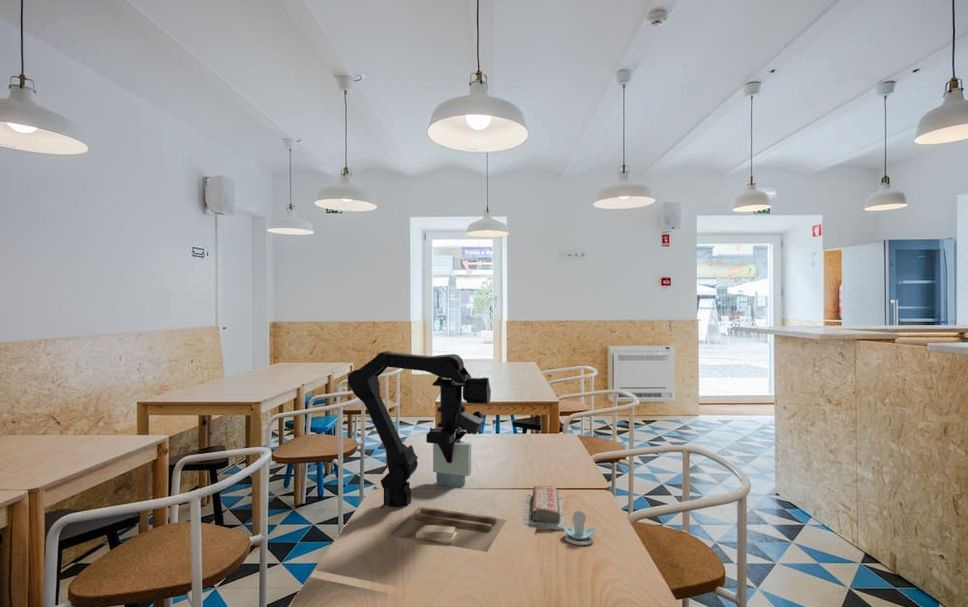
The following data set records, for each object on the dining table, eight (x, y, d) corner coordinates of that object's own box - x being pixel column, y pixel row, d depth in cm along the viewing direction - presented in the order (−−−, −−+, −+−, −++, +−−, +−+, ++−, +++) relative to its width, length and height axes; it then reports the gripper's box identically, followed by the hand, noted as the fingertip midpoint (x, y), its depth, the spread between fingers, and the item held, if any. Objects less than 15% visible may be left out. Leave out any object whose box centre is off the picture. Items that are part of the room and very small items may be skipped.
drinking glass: (473, 482, 149) (473, 443, 149) (454, 493, 140) (454, 452, 140) (446, 475, 154) (446, 438, 154) (426, 486, 146) (426, 446, 146)
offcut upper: (421, 535, 111) (421, 530, 111) (425, 529, 114) (425, 524, 114) (452, 537, 110) (452, 532, 110) (455, 531, 113) (455, 526, 113)
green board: (433, 471, 130) (433, 441, 129) (436, 469, 131) (436, 439, 131) (468, 476, 126) (468, 445, 126) (471, 473, 128) (471, 443, 128)
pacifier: (595, 548, 110) (594, 535, 116) (595, 521, 110) (594, 509, 115) (562, 545, 111) (563, 532, 117) (562, 518, 111) (563, 506, 117)
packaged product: (526, 483, 137) (562, 484, 136) (526, 500, 137) (562, 502, 136) (523, 510, 119) (565, 512, 118) (523, 530, 119) (565, 532, 118)
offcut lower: (415, 537, 112) (415, 533, 112) (422, 530, 116) (422, 526, 116) (452, 543, 109) (452, 539, 109) (457, 536, 113) (457, 532, 113)
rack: (388, 539, 113) (388, 529, 113) (418, 511, 129) (418, 502, 129) (487, 555, 106) (487, 545, 106) (506, 523, 121) (506, 515, 121)
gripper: (467, 412, 118) (467, 477, 118) (490, 397, 135) (490, 454, 135) (425, 409, 121) (425, 472, 121) (453, 395, 139) (453, 450, 139)
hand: (451, 461), depth 129 cm, fingers closed on green board, 2 cm apart
